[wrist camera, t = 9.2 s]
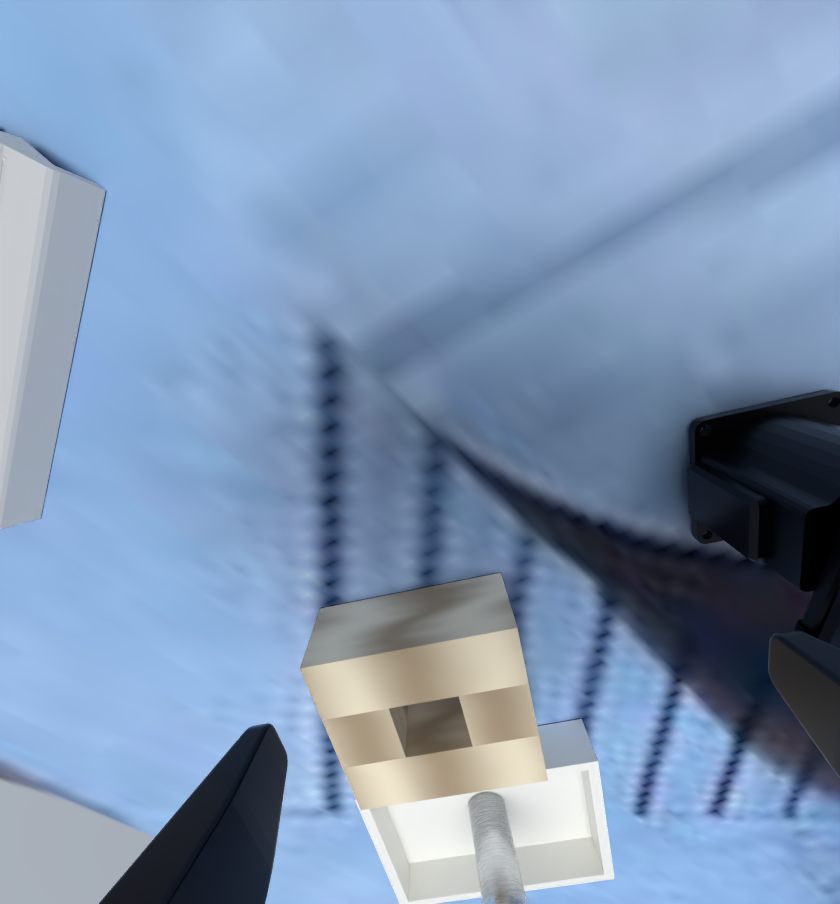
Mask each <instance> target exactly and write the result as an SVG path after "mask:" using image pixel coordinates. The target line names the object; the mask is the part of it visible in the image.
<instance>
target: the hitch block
mask: <svg viewBox="0 0 840 904" xmlns="http://www.w3.org/2000/svg"><path fill="white" fill-rule="evenodd" d="M300 670H301V672H302V675H303V677H304V679H305V682H306V684H307V686H308V689H309V691H310V693H311V696H312V698H313V700H314V703H315V705H316V707H317V710H318V712H319V714H320V716H321V719H322V721H323V723H324V726H325V728H326V730H327V733H328V735H329V737H330V740H331V742H332V744H333V747H334V749H335V751H336V754H337V756H338V758H339V761H340V763H341V765H342V768H343V770H344V772H345V775H346V777H347V779H348V782H349V784H350V786H351V788H352V791H353V793H354V795H355V798H356V800H357V802H358V805H359V807H360V809H361V810H365V809H372V808H378V807H384V806H391V805H397V804H403V803H410V802H416V801H422V800H429V799H435V798H441V797H448V796H454V795H461V794H467V793H473V792H480V791H486V790H492V789H499V788H505V787H511V786H518V785H524V784H530V783H537V782H543V781H548V777H547V772H546V767H545V762H544V757H543V752H542V747H541V742H540V737H539V732H538V727H537V722H536V718H535V713H534V708H533V703H532V698H531V693H530V688H529V683H528V678H527V673H526V668H525V663H524V658H523V653H522V648H521V643H520V638H519V633H518V628H517V625H516V621H515V618H514V615H513V611H512V608H511V605H510V601H509V598H508V595H507V592H506V588H505V585H504V582H503V578H502V575H501V573H496V574H491V575H486V576H481V577H476V578H471V579H466V580H461V581H456V582H451V583H446V584H441V585H436V586H431V587H426V588H421V589H416V590H411V591H406V592H401V593H396V594H391V595H386V596H381V597H376V598H371V599H366V600H361V601H356V602H350V603H345V604H340V605H335V606H330V607H325V608H320V610H319V613H318V616H317V619H316V622H315V625H314V628H313V631H312V634H311V637H310V640H309V643H308V646H307V649H306V652H305V655H304V658H303V661H302V664H301V667H300Z"/></svg>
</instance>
